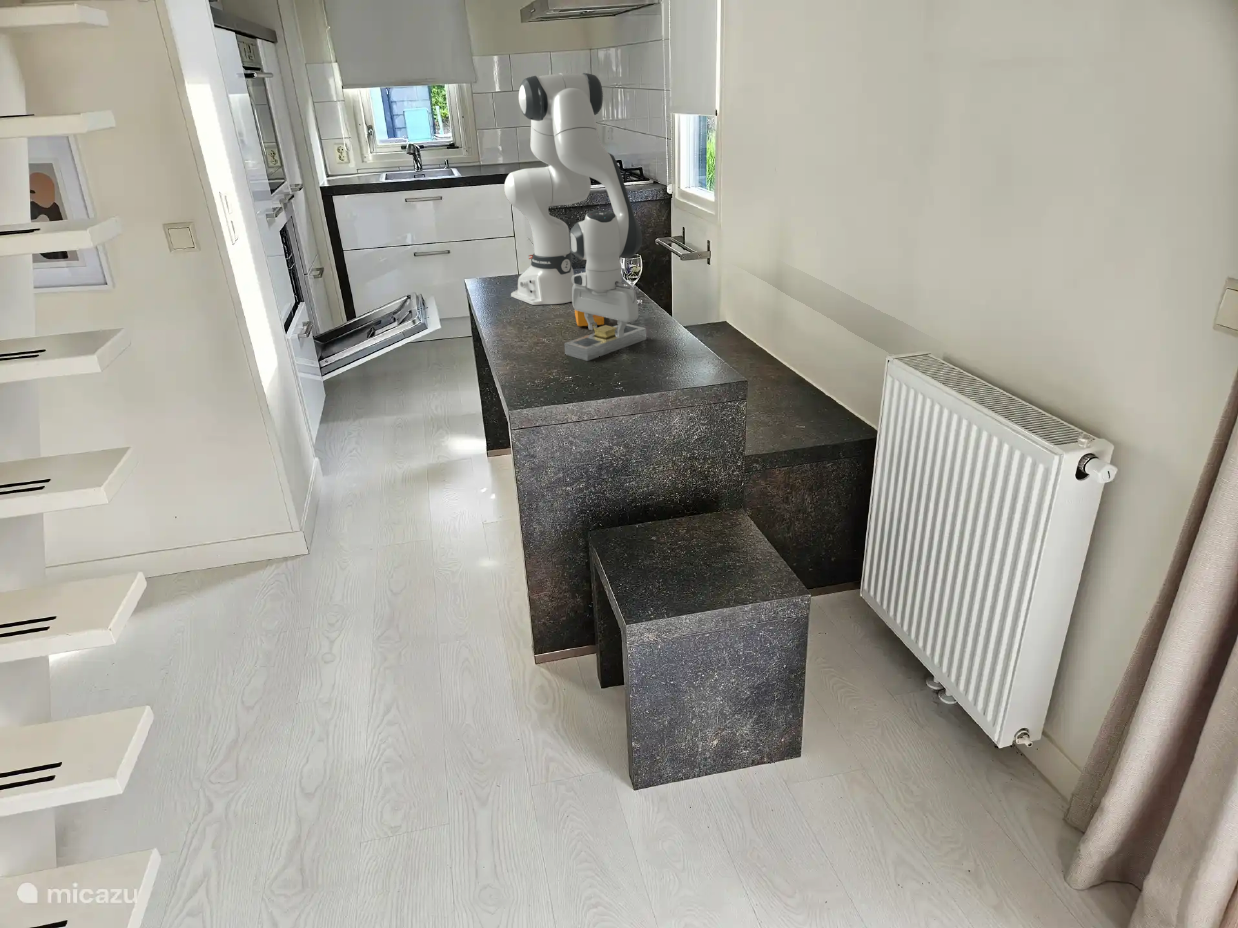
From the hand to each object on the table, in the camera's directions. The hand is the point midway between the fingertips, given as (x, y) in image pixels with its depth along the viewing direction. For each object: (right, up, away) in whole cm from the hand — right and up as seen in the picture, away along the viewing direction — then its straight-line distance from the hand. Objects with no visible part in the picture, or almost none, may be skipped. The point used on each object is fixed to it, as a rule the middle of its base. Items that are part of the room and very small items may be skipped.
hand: (605, 333), depth 208 cm
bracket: (-5, +6, +22) cm, 23 cm away
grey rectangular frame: (0, -3, +2) cm, 4 cm away
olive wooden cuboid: (0, -3, +2) cm, 4 cm away
